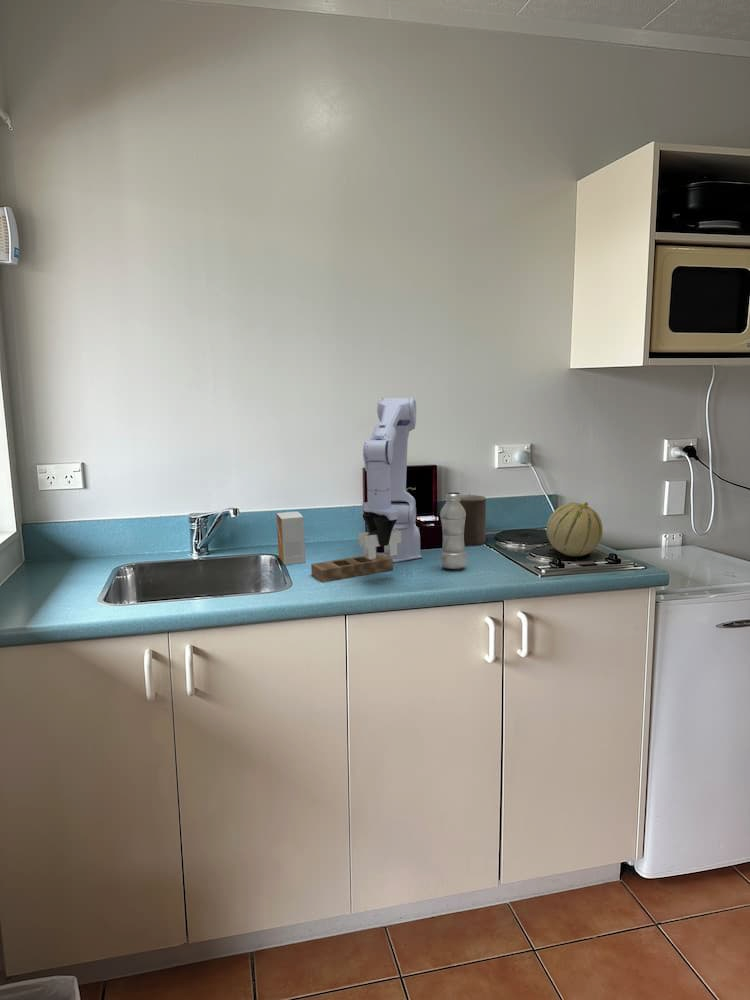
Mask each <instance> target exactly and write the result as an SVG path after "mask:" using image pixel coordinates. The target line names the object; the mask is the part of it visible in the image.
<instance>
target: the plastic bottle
mask: <svg viewBox="0 0 750 1000" xmlns="http://www.w3.org/2000/svg"><path fill="white" fill-rule="evenodd" d="M460 495H461V492H458V491H457V492H456V491H451V492H449V491H448V492H445V501H446V502H445V504H444V505H443V506H442V508H441V509H440V515H439V517H440V522H441V527H442V528H441V530H442V549H441V554H440V562H441V565H442V567H443V568H444V569H446V570H460V569H464V568H465V566H466V564H467V553H466V549H465V547H466V546H465V545H464V525H465V517H466V512H465V509H464V508H463V506H462V505H461V504H460V500H461V498H460Z"/></svg>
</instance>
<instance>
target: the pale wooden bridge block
mask: <svg viewBox="0 0 750 1000" xmlns="http://www.w3.org/2000/svg"><path fill="white" fill-rule="evenodd" d="M357 535H358V538H357V539H358V547H359V546H360V547H362V556H363V557H365V558H367V559H375V558H376V554H377V549H376V548H377V547H381V546H380V543H379V538H378V531H371V532H369V531H365V532H358V533H357ZM397 543H401V531H400V530H397V529H395V528H393V529H392V532H391V536H390V541H389V545H386V546H383V549H384V550H383V552H384V553H383V554H387V555H389V556H393V555H397Z"/></svg>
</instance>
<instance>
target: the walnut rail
mask: <svg viewBox="0 0 750 1000" xmlns="http://www.w3.org/2000/svg"><path fill="white" fill-rule="evenodd" d="M383 554H384V553H382V552H378V553H377V552H376V558H375V559H367V558H365V557H363V555H359V556H352V557H346V558H342V559H341V558H340V559H336V560H335V559H334V560H328V561H322V562H315V563H311V564H310V566H311V576H312V577H313V578H315V579H317V580H319V581H320V582H322V583H326V582H325V581H327V582H332V581H338V580H344V579H348V578H354V577H360V576H365V575H372V574H377V573H383V572H389V571H393V570H394V566H393V565H394V562H393V559H392V558H390V557H388V556H385V555H383ZM343 578H344V579H343Z"/></svg>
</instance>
